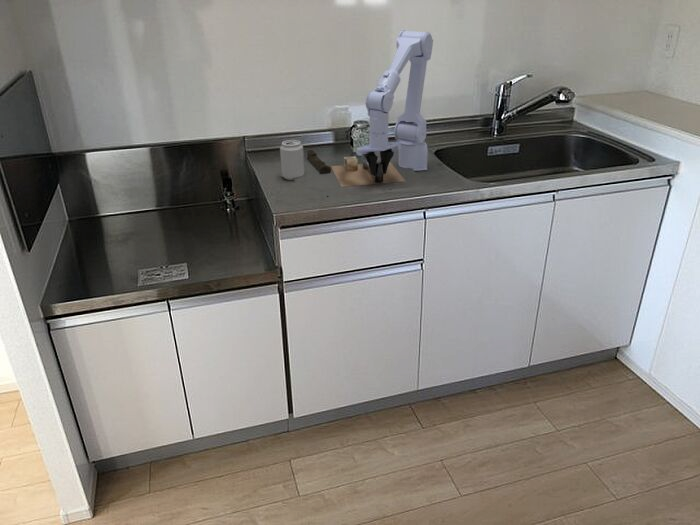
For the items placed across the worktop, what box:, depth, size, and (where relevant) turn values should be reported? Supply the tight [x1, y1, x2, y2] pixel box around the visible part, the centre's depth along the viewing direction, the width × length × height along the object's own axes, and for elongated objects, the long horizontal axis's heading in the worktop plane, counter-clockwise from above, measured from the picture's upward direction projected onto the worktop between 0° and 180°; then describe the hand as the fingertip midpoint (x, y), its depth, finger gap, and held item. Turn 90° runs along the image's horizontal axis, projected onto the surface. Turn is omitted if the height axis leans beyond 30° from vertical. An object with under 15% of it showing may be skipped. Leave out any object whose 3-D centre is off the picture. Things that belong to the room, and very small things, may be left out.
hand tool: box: [306, 149, 332, 175], centre depth 200 cm, size 19×4×5 cm, turn 18°
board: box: [330, 155, 407, 188], centre depth 192 cm, size 21×20×4 cm
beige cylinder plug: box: [347, 157, 359, 171], centre depth 195 cm, size 4×4×3 cm
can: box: [279, 139, 305, 181], centre depth 191 cm, size 8×8×12 cm
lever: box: [362, 158, 384, 183], centre depth 190 cm, size 18×4×6 cm, turn 11°
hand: (378, 173), depth 184 cm, fingers open, 3 cm apart
